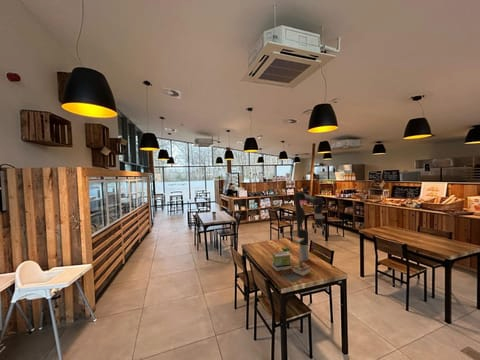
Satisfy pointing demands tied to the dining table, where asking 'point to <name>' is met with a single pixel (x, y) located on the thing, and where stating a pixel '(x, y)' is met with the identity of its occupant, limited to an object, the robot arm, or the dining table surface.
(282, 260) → the tea box
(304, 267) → the lid
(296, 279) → the mat
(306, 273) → the dish
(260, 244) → the dining table surface
